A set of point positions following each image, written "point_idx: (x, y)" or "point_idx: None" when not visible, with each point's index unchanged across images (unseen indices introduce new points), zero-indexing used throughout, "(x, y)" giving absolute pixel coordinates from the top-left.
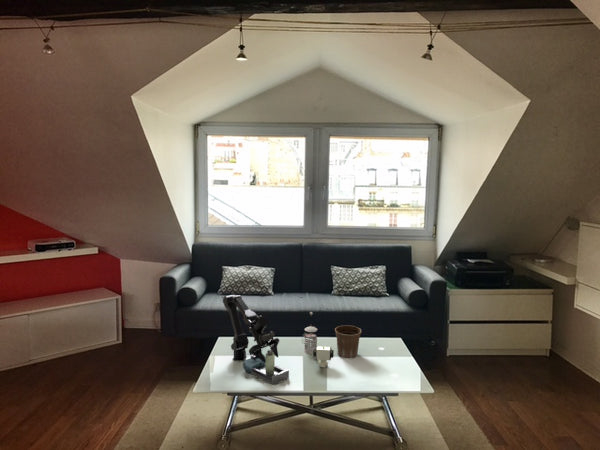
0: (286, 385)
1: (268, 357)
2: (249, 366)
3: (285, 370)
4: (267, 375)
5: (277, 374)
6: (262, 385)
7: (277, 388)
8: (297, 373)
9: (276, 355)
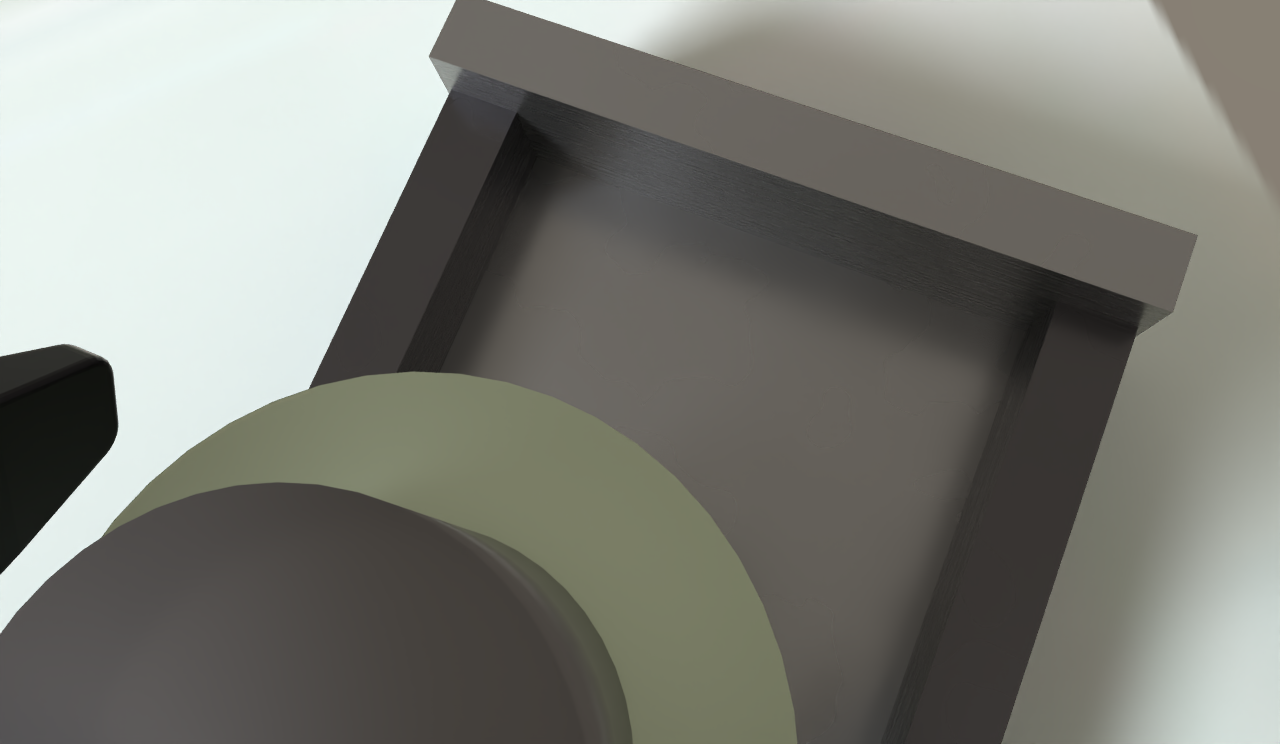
0: (910, 22)
1: (784, 721)
2: None
3: (546, 69)
4: (1049, 555)
5: (951, 181)
6: (1236, 616)
7: (1173, 154)
8: (189, 46)
9: (18, 472)
